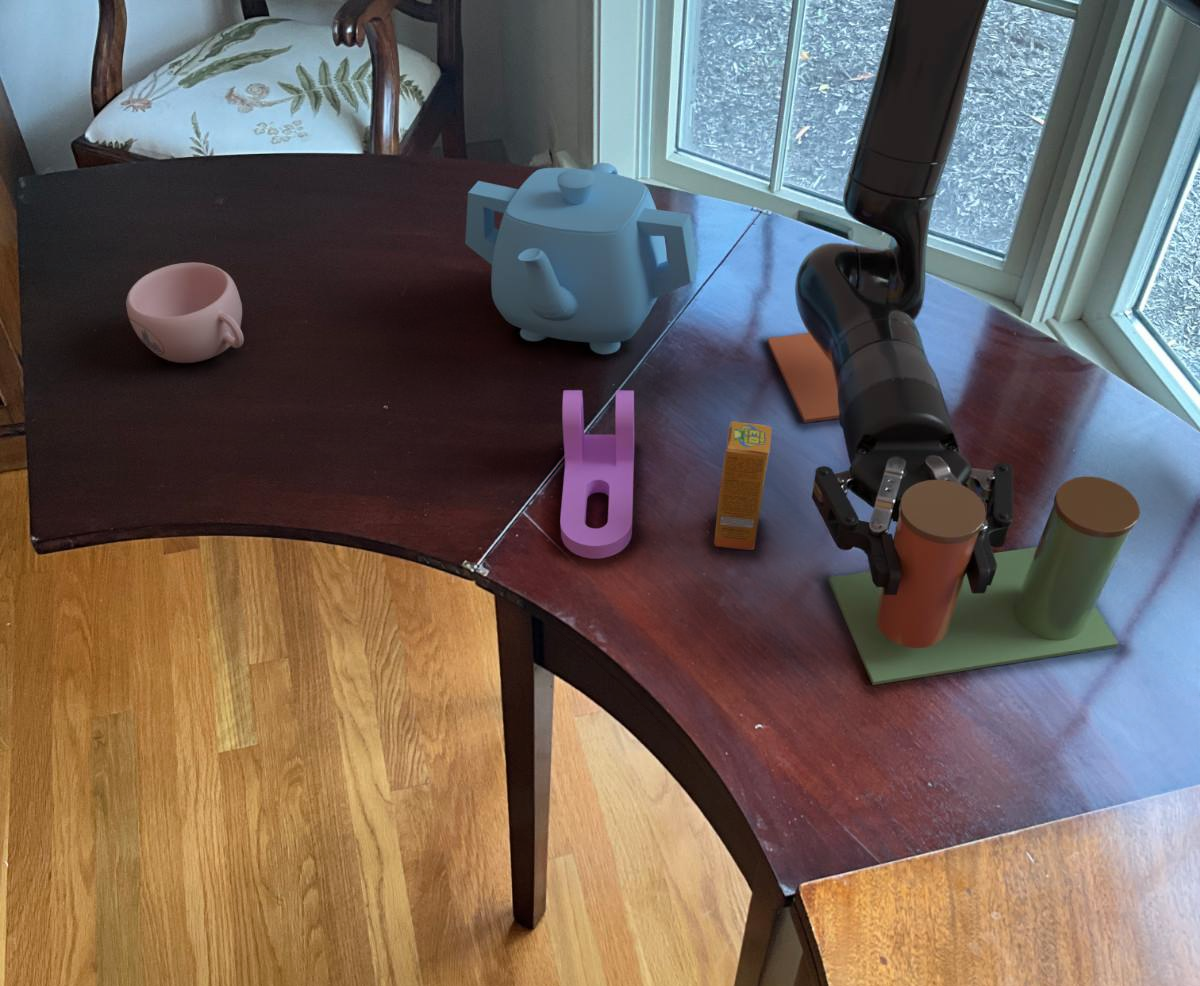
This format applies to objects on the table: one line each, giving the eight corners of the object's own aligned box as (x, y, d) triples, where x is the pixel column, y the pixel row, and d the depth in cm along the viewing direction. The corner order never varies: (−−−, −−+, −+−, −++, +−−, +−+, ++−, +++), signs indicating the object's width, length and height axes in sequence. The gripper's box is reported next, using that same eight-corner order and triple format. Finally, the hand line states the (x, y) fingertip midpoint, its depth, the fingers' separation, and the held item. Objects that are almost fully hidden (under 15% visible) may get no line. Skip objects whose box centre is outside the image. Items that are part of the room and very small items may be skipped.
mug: (121, 354, 104) (99, 300, 100) (199, 302, 110) (181, 248, 105) (212, 395, 100) (192, 340, 96) (288, 339, 105) (273, 285, 101)
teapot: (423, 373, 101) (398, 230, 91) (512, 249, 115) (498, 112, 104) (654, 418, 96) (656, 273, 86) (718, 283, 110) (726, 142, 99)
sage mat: (1055, 547, 85) (1056, 543, 85) (1117, 647, 78) (1118, 643, 78) (828, 580, 83) (829, 577, 83) (872, 685, 77) (873, 681, 76)
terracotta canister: (933, 588, 80) (966, 474, 71) (961, 643, 76) (999, 530, 68) (864, 598, 79) (888, 485, 71) (888, 654, 76) (917, 542, 67)
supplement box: (758, 552, 85) (769, 453, 78) (713, 547, 86) (720, 449, 78) (760, 522, 88) (772, 423, 80) (717, 518, 88) (724, 419, 80)
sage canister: (1068, 582, 82) (1116, 471, 74) (1101, 635, 79) (1155, 525, 70) (1001, 592, 82) (1042, 481, 73) (1031, 646, 78) (1077, 536, 70)
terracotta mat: (890, 326, 104) (891, 322, 104) (937, 405, 96) (938, 401, 96) (766, 341, 103) (767, 338, 103) (804, 423, 95) (804, 419, 95)
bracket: (568, 447, 94) (564, 380, 89) (634, 447, 94) (633, 380, 89) (559, 558, 86) (553, 492, 80) (631, 558, 85) (630, 492, 80)
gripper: (800, 377, 80) (832, 547, 68) (1002, 372, 79) (1068, 542, 68) (790, 456, 85) (818, 625, 74) (979, 451, 85) (1035, 621, 74)
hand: (937, 585), depth 71 cm, fingers closed on terracotta canister, 5 cm apart
